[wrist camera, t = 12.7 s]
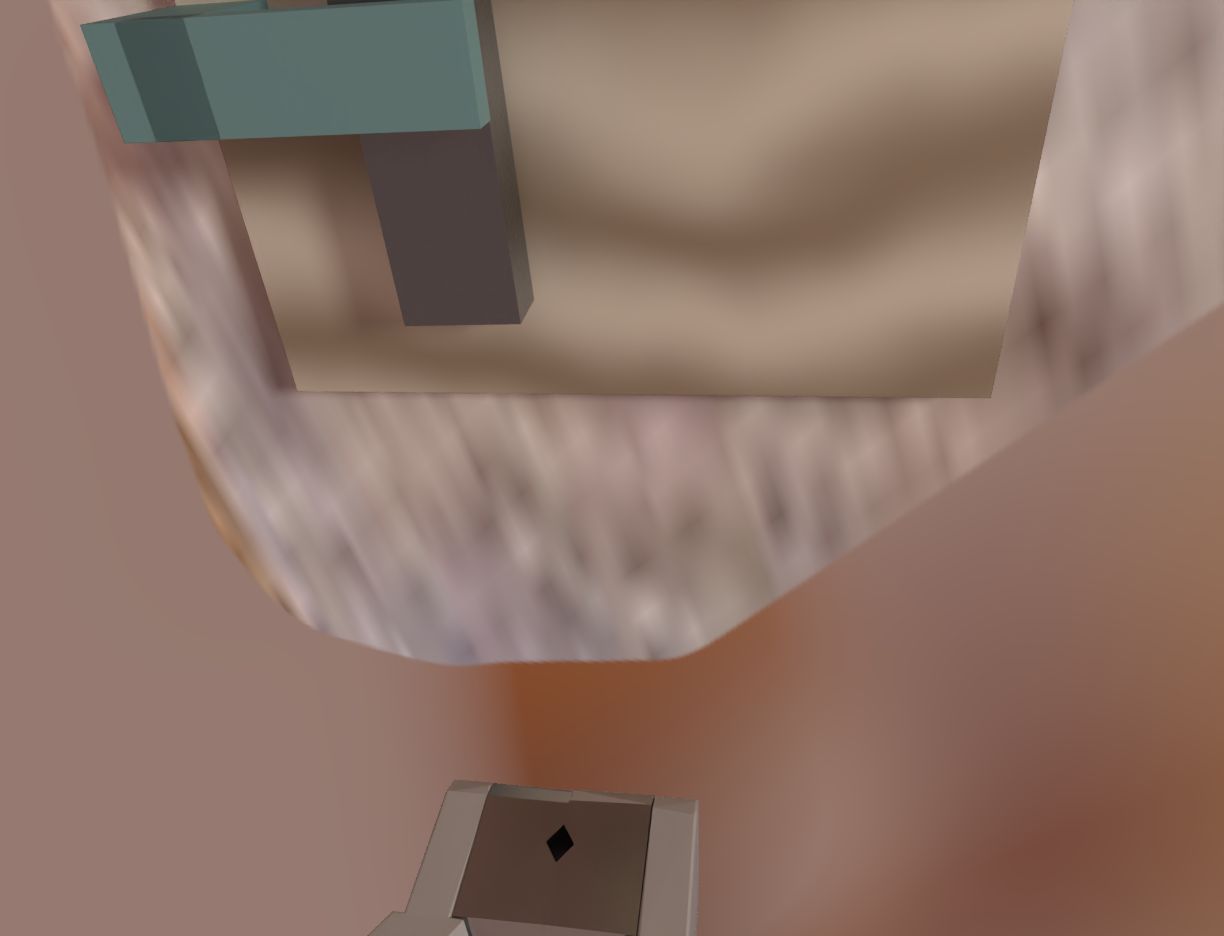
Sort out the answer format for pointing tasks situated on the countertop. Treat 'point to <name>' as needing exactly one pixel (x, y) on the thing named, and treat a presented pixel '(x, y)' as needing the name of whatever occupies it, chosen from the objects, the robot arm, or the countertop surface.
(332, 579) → the countertop surface
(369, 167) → the lever
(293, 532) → the countertop surface
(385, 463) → the countertop surface
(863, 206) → the board
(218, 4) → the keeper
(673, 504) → the countertop surface
